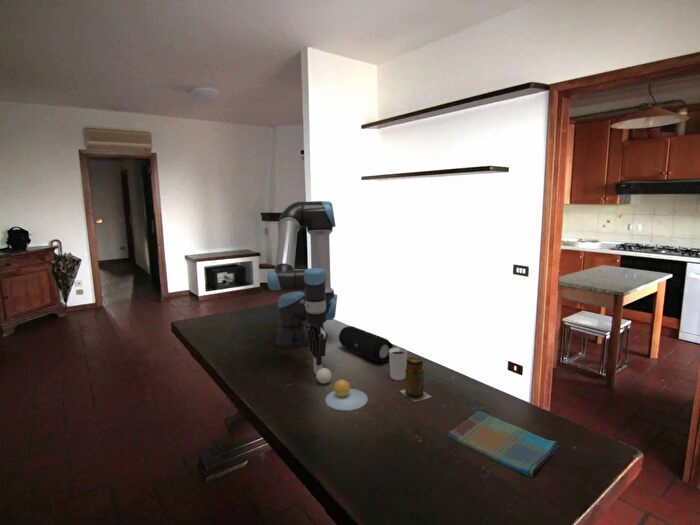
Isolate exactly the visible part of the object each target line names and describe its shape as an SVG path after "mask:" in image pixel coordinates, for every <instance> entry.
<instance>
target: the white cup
mask: <svg viewBox="0 0 700 525" xmlns="http://www.w3.org/2000/svg"><path fill="white" fill-rule="evenodd" d="M407 359H408V349H406V348H404V347H397V346H396V347H393V348H391V349H390V350H389V360H388V361H389V375H390V376H389V377H390V378H391V379H392V380H394V381H395V380H396V381H402V380H404V379H406V378H405V377H406V366H407Z"/></svg>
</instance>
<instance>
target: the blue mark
mask: <svg viewBox="0 0 700 525" xmlns="http://www.w3.org/2000/svg"><path fill="white" fill-rule="evenodd" d="M368 400H369V398H368V396H367V394H366V393H365V392H363V391H361V390H359V389H356V388H350V391H349V393H348V394H347V395H346V396H344V397H340V396H338V395H336V393H335V392H334V390H333V391H330V392H329V393H327V394H326V396H325V404H326V405H327V407H329V408H330V409H334V410H337V411H345V412H347V411H355V410H359V409H360V408H362V407H364V406H365V405H367V403H368Z"/></svg>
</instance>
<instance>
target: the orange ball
mask: <svg viewBox="0 0 700 525" xmlns="http://www.w3.org/2000/svg"><path fill="white" fill-rule="evenodd" d="M350 389H351V384H350V383H349V382H348V381H347V380H345V379H339V380H337V381H336V382H335V383H334V385H333V391H334V392H335V393H336V395H338V396H340V397H344V396H346V395H347V394H348V393H349V391H350Z"/></svg>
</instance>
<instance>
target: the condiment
mask: <svg viewBox="0 0 700 525" xmlns="http://www.w3.org/2000/svg"><path fill="white" fill-rule="evenodd" d="M424 370H425V368H424V366H423V359H422V358H420V357H417V356H416V357H415V356H410V357H409V358H408V357H407V363H406V377H405V388H404V389H401V390H399V392H400V393H402V394H403V395H404V396H405V397H407V398H408V399H409V400H411V401H412V402H414V403H415V402H419V401H423V400H426V399H429V398H430V399H431V398H432V395H430V394H429V393H427V392H426V391H424V387H425V386H424V383H425V382H424V381H425V380H424V378H425V371H424Z"/></svg>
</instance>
